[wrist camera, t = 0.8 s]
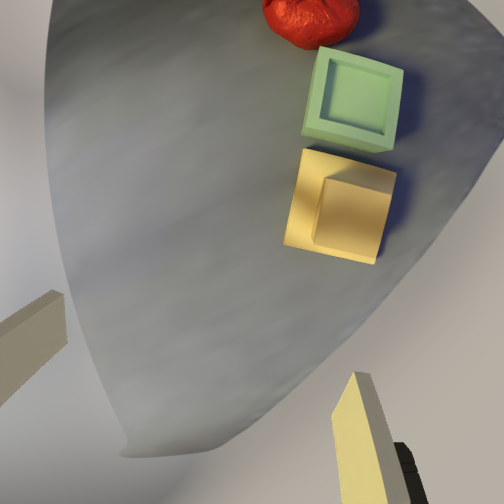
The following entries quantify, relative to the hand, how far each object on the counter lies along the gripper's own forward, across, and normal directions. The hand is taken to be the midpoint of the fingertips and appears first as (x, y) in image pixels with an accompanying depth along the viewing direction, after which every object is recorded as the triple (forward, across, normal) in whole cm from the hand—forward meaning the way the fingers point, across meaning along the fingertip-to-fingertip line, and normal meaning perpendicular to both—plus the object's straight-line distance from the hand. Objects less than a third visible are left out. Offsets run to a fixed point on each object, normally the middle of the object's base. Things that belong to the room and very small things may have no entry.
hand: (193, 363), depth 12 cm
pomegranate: (+23, +1, +26) cm, 35 cm away
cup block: (+23, +7, +16) cm, 29 cm away
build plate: (+23, +8, +6) cm, 25 cm away
